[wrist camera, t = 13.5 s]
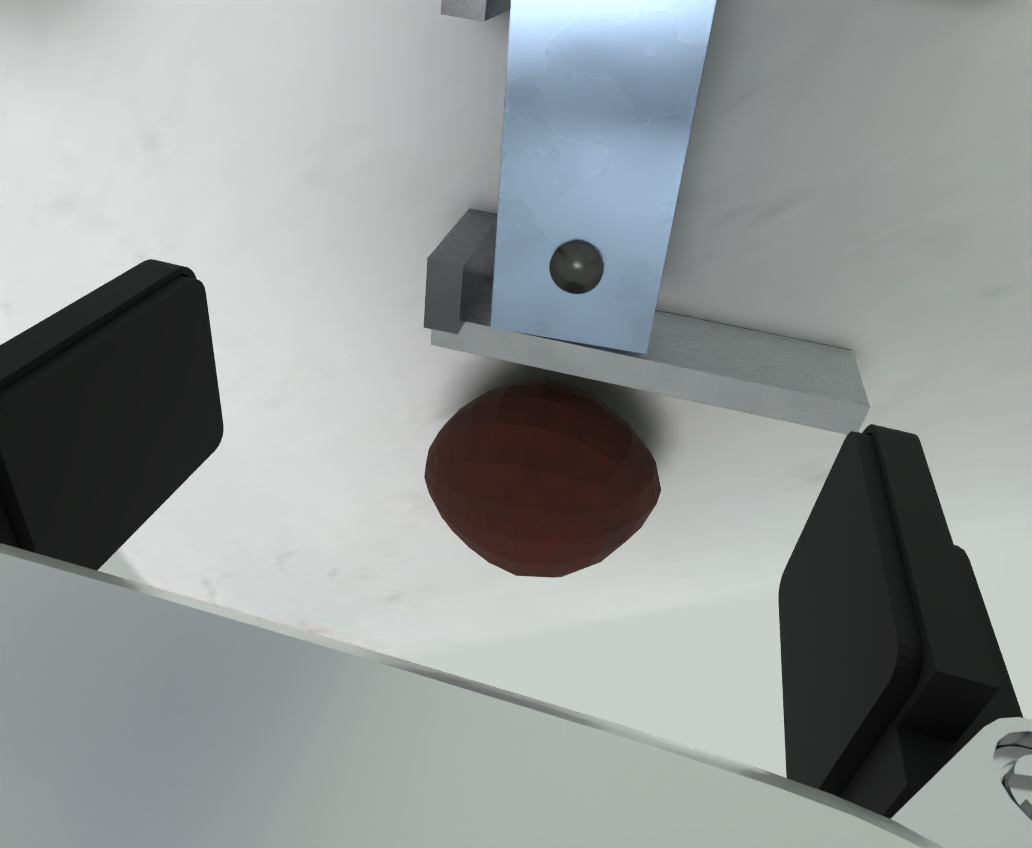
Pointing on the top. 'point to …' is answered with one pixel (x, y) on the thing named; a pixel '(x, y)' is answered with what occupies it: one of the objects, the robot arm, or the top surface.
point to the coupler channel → (672, 345)
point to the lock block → (593, 163)
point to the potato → (541, 478)
